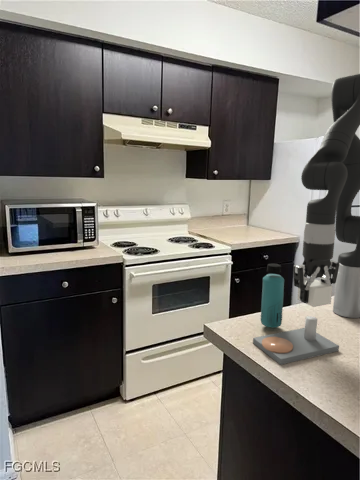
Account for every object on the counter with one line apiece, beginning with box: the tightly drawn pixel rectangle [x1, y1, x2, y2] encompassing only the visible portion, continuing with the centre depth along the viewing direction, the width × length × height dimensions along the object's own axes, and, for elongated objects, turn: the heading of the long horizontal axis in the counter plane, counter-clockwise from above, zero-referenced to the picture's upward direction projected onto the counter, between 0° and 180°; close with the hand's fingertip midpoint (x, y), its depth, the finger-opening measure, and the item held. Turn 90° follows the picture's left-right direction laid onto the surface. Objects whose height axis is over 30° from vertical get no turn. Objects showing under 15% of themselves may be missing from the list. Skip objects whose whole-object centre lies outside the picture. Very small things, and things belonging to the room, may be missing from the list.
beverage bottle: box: [260, 263, 285, 328], centre depth 103 cm, size 6×7×20 cm
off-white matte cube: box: [297, 278, 333, 308], centre depth 93 cm, size 6×6×5 cm
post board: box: [252, 315, 340, 365], centre depth 93 cm, size 19×12×8 cm, turn 112°
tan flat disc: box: [262, 337, 293, 353], centre depth 91 cm, size 8×8×1 cm
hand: (313, 300), depth 93 cm, fingers closed on off-white matte cube, 6 cm apart
